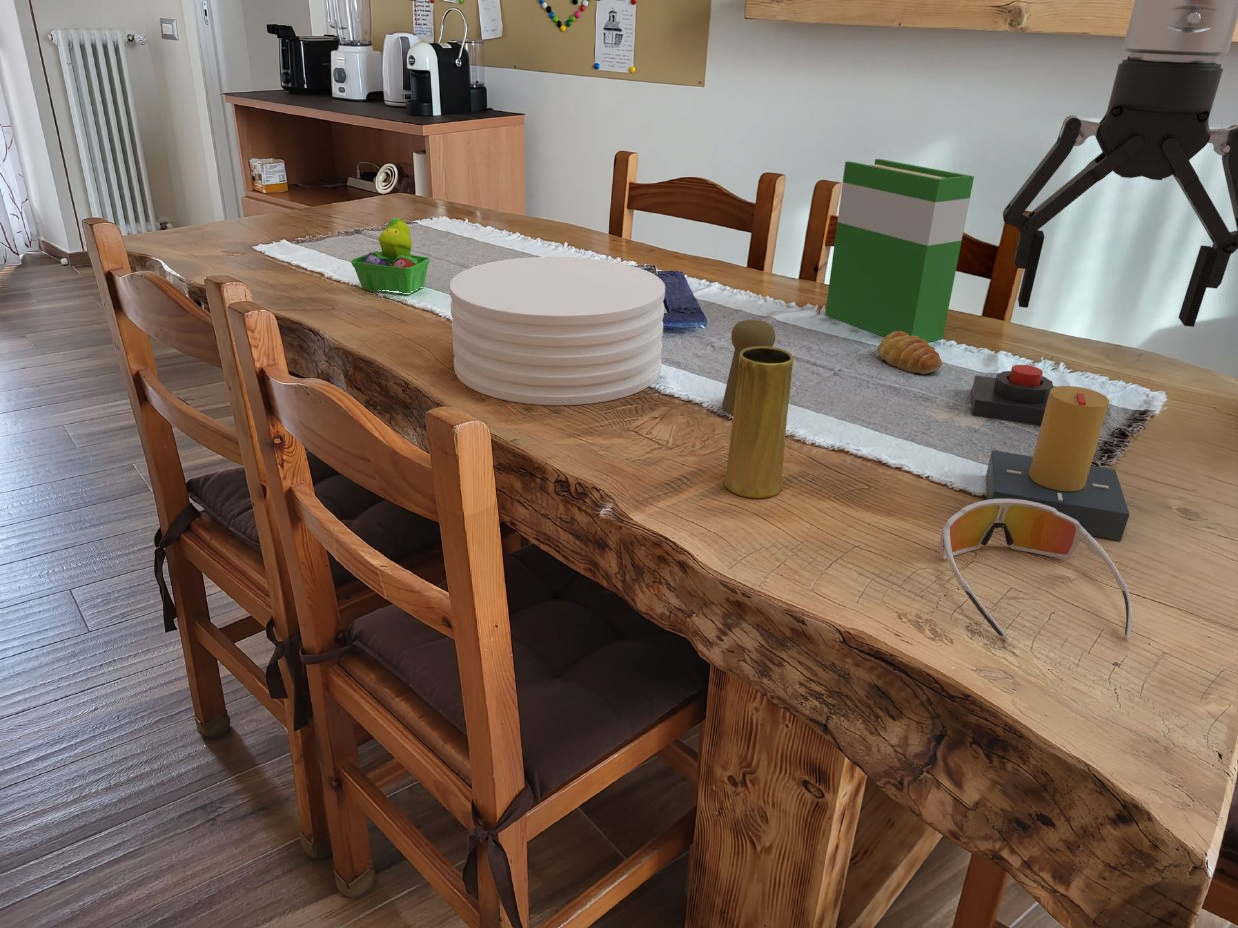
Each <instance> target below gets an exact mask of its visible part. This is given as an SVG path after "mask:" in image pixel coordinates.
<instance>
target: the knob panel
mask: <svg viewBox="0 0 1238 928" xmlns="http://www.w3.org/2000/svg"><path fill="white" fill-rule="evenodd" d="M1032 459H1033V455H1032V456H1031V455H1025V454H1020V453H1019V454H1018V453H1012V452H1007V451H1000V450H995V449H994V450H993V449H992V450H991V452H990V456H989V461H988V465H987V469H986V473H985V478H986V479H985V480H986V482H985V483H986V500H990V499H1019V500H1027V501H1032V502H1036V503H1040V504H1044V505H1047V506H1050V507H1053V508H1055V509H1056V510H1057V511H1058V512H1061V513H1063V514H1065V515H1067V516H1069V517H1071V518H1073V519H1075V520H1077V521H1078V522H1079V524H1080V525H1081V526H1082V527H1083V528H1084V529H1085V530H1086V531H1087V532H1088V533H1089V534H1090V535H1091V536H1092V537H1093V538H1100V539H1107V540H1111V541H1117V542H1122V539H1123V536H1124V533H1125V530H1126V528H1127V524H1128V521H1129V517H1130V512H1129V508H1128V505H1127V502H1126V499H1125V495H1124V491H1123V489H1122V485H1121V482H1120V480H1119V476H1118V473H1117V470H1116V469H1115V468H1109V467H1103V466H1102V467H1101V466H1096V465H1091V467H1090V470H1089V474H1088V477H1087V480H1086V484H1085V487H1084V488H1083V489H1081V490H1078V491H1070V492H1069V491H1058V490H1053V489H1050V488H1046V487H1044V486H1041V485H1039V484H1037V483H1036V482H1034V481H1033V480H1032V479H1031V478H1030V476H1029V470H1030V467H1031V463H1032Z"/></svg>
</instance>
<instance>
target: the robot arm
mask: <svg viewBox="0 0 1238 928" xmlns="http://www.w3.org/2000/svg"><path fill="white" fill-rule="evenodd" d="M1237 23H1238V0H1134V4H1133V7H1132V11H1131V14H1130V19H1129V22H1128V26H1127V30H1126V34H1125V37H1124V38H1125V39H1124V41H1123V46H1122V48H1123V50H1124V52H1129V53H1128V56H1127V59H1122V61H1121V62H1119V63H1118V65H1117V69H1116V74H1115V76H1114V77H1115V78H1114V82H1113V86H1112V89H1111V94H1110V98H1109V101H1108V106H1107V109H1106V112H1105V114H1104V116H1103V117H1102V119H1101V120H1100V121H1099V122H1097V121H1093V120H1087V119H1081V118H1079V117H1077V116H1075V115H1068V116H1067V117H1065V118H1064V119H1063V121H1062V125H1061V127H1060V130H1059V132H1058V136H1057V139H1056V141H1055V143H1054V144H1053V145H1052V146H1051V148H1050V149H1049V151H1048V152H1047V153H1046V154H1045V156H1044V157H1043V159H1042V160H1041V161H1040V163H1039V164H1038V165H1037V166H1036V167H1035V169H1034V170H1033V171H1032V173H1031V174H1030V175H1029V176H1028V178H1027V179H1026V180H1025V182H1024V183H1023V184H1022V186H1021V187H1020V188H1019V190H1018V191H1017V192H1016V193H1015V194H1014V196H1013V197H1012V199H1010V201H1009V203H1008V204H1007V205H1006V207H1005V208H1003V211H1002V219H1003V222H1004V223H1005V224H1006V225H1008V226H1009V225H1010V226H1011V227H1014V228H1016V229H1017V230H1018V231H1019V236H1018V241H1017V244H1016V248H1015V249H1016V250H1015V254H1014V258H1013V260H1014V265H1015V268H1016V269H1024V271H1023V275H1022V279H1021V285H1020V288H1019V293H1018V297H1017V304H1018V307H1019V308H1026V309H1027V308H1029V305H1030V300H1031V297H1032V292H1033V288H1034V283H1035V279H1036V276H1037V275H1036V274H1037V271H1038V266H1039V262H1040V258H1041V255H1042V250H1043V246H1044V241H1045V238H1046V237H1045V234H1044V231H1043V230H1041V228H1042V227H1044V226H1045V225H1046V224H1047V223H1049V222H1050V221H1051V220H1052V219H1054V218H1055V217H1056V216H1057V215H1058V214H1060V213H1061V212H1062V211H1064V210H1065V209H1066V208H1067V207H1068V206H1069V205H1070V204H1072V203H1073V202H1074V201H1076V200H1077V199H1078V198H1079V197H1080V196H1082V195H1083V194H1085V193H1086V192H1087V191H1088V190H1089V189H1091V188H1092V187H1093V186H1094V185H1095V184H1096V183H1098V182H1100V181H1102V180H1103V179H1104V178H1106V177H1107V176H1108V175H1110V174H1111V173H1112V172H1113V173H1114V174H1115V175H1117V176H1119V177H1120V178H1125V179H1134V178H1140V177H1143V178H1147V179H1149V180H1152V181H1153V180H1154V181H1162V180H1164V179H1167V178H1169V177H1171V176H1173V178H1174V180H1175V182H1177V185H1179V188H1180V189H1181V191H1182V192H1183V195H1184V197H1186V200H1187V201H1188V203H1189V205H1190V206H1191V208H1192V209H1193V211H1194V213H1195V215H1196V216H1197V218H1198V220H1199V222H1200V223H1201V225H1202V228H1204V231H1205V232H1206V233H1207V235H1208V237H1209V239H1210V240H1211V242H1212V245H1203V244H1202V245H1201V244H1200V247H1199V250H1198V253H1197V257H1196V259H1195V262H1194V267H1193V269H1192V272H1191V276H1190V279H1189V281H1188V282H1189V283H1188V285H1187V288H1186V292H1185V295H1184V299H1183V301H1182V304H1181V308H1180V311H1179V314H1178V319H1179V320H1180V322H1181V323H1182V325H1183V326H1184V327H1191V328H1194V327H1195V325H1196V321H1197V319H1198V315H1199V313H1200V309H1201V306H1202V303H1203V300H1204V297H1205V293H1206V290H1207V288H1208V289H1218V288H1219V287H1220V286H1221V284H1222V282H1223V280H1224V276H1225V273H1226V270H1227V266H1228V264H1229V261H1230V259H1231V256H1232V254H1234V253H1236V251H1238V124H1233V125H1230V126H1228V127H1225V128H1210V124H1209V121H1210V115H1211V112H1212V109H1213V106H1214V103H1215V99H1216V96H1217V92H1218V88H1219V85H1220V83H1221V82H1220V81H1221V78H1222V75H1223V72H1224V68H1222V64H1221V63H1217V62H1218V58H1219V56H1222V57H1223V56H1225V55H1226V54H1228V53H1229V51H1230V47H1231V44H1232V41H1233V37H1234V33H1235V31H1236V28H1237ZM1092 136H1095V140H1096V141H1097V143H1098V145H1099V148H1100V150H1101V152H1100V153H1099V154H1098V155H1096V156H1095V158H1093V159H1092V160H1091V161H1090V162H1089V163H1088V164H1087V165H1086V166H1085V167H1084V168H1083V169H1081V170H1080V171H1079V172H1078V173H1077V174H1076V175H1074V176H1073V177H1072V178H1071V179H1069V180H1068V181H1067V182H1066V183H1064V184H1063V185H1061V187H1059V189H1057V190H1056V191H1055V192H1053V194H1051V195H1050V196H1048V198H1046V199H1045V200H1043V202H1041V203H1040V204H1039V205H1037V207H1035V208H1034V209H1033V210H1032V211H1030V212H1029V213H1028V214H1027V213H1026V212H1025V211H1026V210H1027V209H1028V207H1029V206H1030V205H1031V204H1032V203H1033V201H1034V200H1035V198H1037V196H1038V195H1039V194H1040V192H1041V191H1042V190H1043V188H1044V187H1045V186H1046V185H1047V183H1048V182H1049V181H1050V180H1051V178H1052V177H1053V176H1054V175H1055V173H1056V172H1057V171H1058V169H1059V168H1060V167H1061V166H1062V164H1063V163H1064V162H1065V160H1066V159H1067V158H1068V157H1069V155H1070V153H1072V150H1073V148H1074V147H1079V146H1082V145H1083V144H1084V143H1085V142H1086V141H1087V139H1088V138H1089V137H1090V138H1091V137H1092ZM1208 144H1212V146H1213V151H1214V153H1215V154H1217V155H1218V156H1220V157H1221V163H1222V164H1221V165H1222V168H1223V173H1224V178H1225V181H1226V186H1227V191H1228V195H1229V200H1230V204H1231V210H1232V213H1233V218H1234V223H1235V226H1236V230H1233V231H1230V230H1229V229H1228V227H1227V225H1226V223H1225V222H1224V220H1223V218H1222V216H1221V215H1220V213H1219V211H1218V209H1217V208H1216V206H1215V204H1214V202H1213V201H1212V199H1211V197H1210V195H1209V193H1208V192H1207V190H1206V188H1205V187H1204V185H1203V183H1202V182H1201V180H1200V177H1199V175H1198V173H1197V172H1196V170H1195V168H1194V166H1193V165H1192V163H1191V161H1190V160H1191V159H1192V158H1194V157H1195V156H1196V155H1197V154H1198V153H1200V151H1202V150H1203V149H1204V148H1205V147H1206V146H1207V145H1208Z"/></svg>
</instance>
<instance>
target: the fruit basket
mask: <svg viewBox="0 0 1238 928" xmlns="http://www.w3.org/2000/svg"><path fill="white" fill-rule="evenodd" d="M378 242H379V245H380V249H381V251H377V250H374V251H370V252H368V253H367V254H364V255H361V256H357V257H356V258H353V259H351V260H350V263H351V265H352V267H353V268H354V271H355V273H356V276H357V278H358V281H359V284H360V287H361V289H362V290H363V291H370V292H371V291H372V292H379V293H387V294H395V295H403V296H410V295H411V294H414V293H416V292H418V291H419V290H422V289H423V288H425V287H424V286H425V281H426V276H427V271H428V266H429V264H430V260H431V258H430V257H427V256H422V255H421V256H420V255H414V254H411V250H412V245H413V243H412V238H411V229H410V226H409V225H408V224H407V223H406V222H405V219H403V218H399V217H393V218H392V219H390V221H389V222H388V224H387V225H386V226H385V229H384V230H383V231H382V232H381V233H380V234H379V236H378ZM420 287H423V288H420ZM419 288H420V289H419ZM416 289H419V290H417V291H415V290H416ZM377 290H381V291H377ZM382 290H389V291H399V292H402V293H411V291H415V292H412V293H411V294H401V293H393V292H386V291H382Z"/></svg>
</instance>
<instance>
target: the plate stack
mask: <svg viewBox="0 0 1238 928" xmlns="http://www.w3.org/2000/svg"><path fill="white" fill-rule="evenodd" d="M449 296H450V299H451V301H450V315H451V319H452V320H451V334H452V337H453V338H452V353H453V356H454V357H453V370H454V373H455V376H456V378H457V379H458V380H459V381H460V382H461V383H462V384H463V385H465V386H466V387H468V388H470V389H471V390H472V391H475V392H477V393H480V394H483V395H485V396H488V397H492V398H495V399H499V400H502V401H508V402H512V403H517V404H518V403H519V404H528V405H535V406H536V405H537V406H582V405H591V404H599V403H603V402H605V403H606V402H610V401H614V400H619V399H624V398H625V397H629V396H632V395H634V394H637V393H639V392H642V391H643V390H645V389H647V388H649V387H651V386H652V385H653V384H654V383H655V382H656V381H657V380H658V379H659V378H660V375H661V373H662V353H663V339H662V338H663V335H664V322H663V319H664V317H665V303H664V301H665V297H666V285H665V282H664V281H663V280H662V279H661V278H660V277H658V275H656V274H655V273H653V272H650V271H648V270H645V269H644V268H640V267H637V266H634V265H630V264H627V263H623V262H622V263H621V262H617V261H612V260H606V259H598V258H589V257H588V258H587V257H578V256H577V257H576V256H575V257H574V256H533V257H518V258H509V259H502V260H496V261H492V262H491V261H490V262H486V263H482V264H478V265H475V266H472V267H469V268H466V269H464V270H462V271H460V272H459V273H457V274H455V276H454V277H452V278H451V279H450V282H449Z"/></svg>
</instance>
